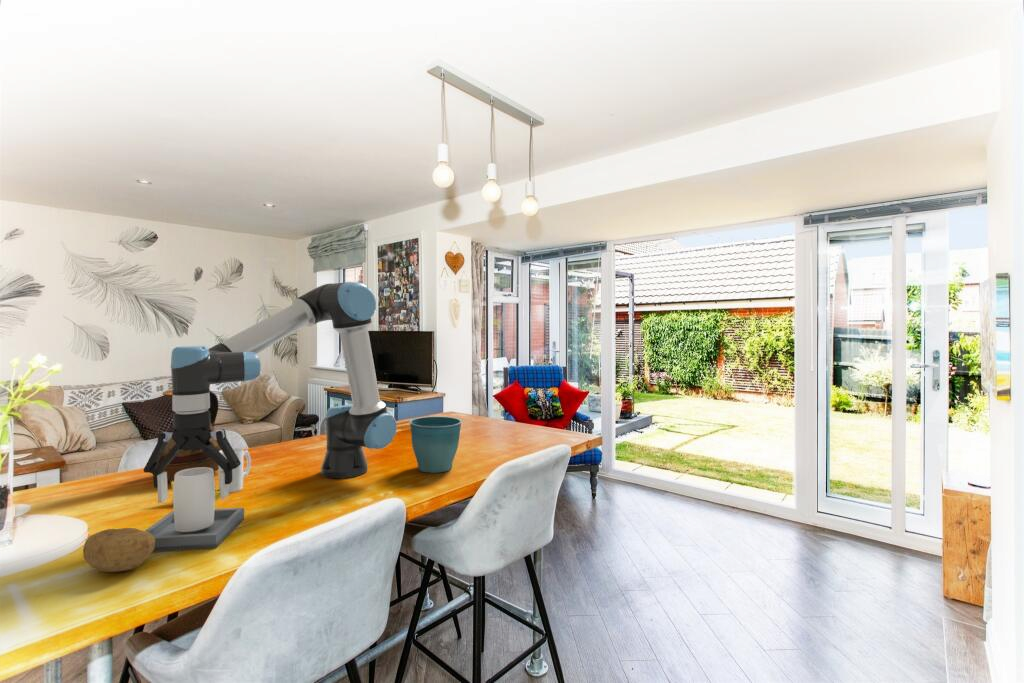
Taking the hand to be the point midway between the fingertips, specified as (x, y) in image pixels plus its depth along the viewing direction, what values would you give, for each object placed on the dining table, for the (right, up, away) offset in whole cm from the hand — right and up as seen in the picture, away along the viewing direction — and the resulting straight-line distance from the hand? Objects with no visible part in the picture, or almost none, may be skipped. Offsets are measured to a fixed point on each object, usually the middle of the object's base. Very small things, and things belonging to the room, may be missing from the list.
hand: (194, 499), depth 119 cm
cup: (0, -8, 0) cm, 8 cm away
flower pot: (+49, -8, +57) cm, 75 cm away
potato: (-5, -9, -17) cm, 20 cm away
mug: (-9, -8, +34) cm, 36 cm away
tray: (0, -9, 0) cm, 9 cm away
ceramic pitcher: (-30, -7, +46) cm, 55 cm away
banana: (-12, -8, +19) cm, 24 cm away
